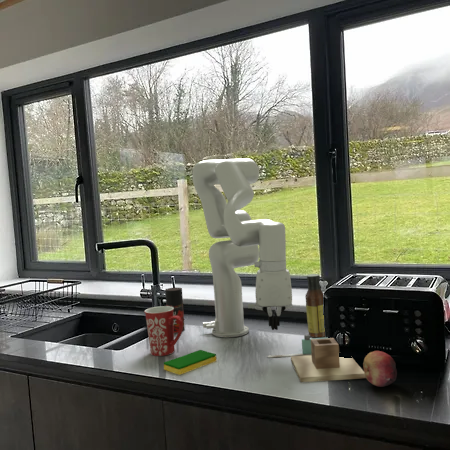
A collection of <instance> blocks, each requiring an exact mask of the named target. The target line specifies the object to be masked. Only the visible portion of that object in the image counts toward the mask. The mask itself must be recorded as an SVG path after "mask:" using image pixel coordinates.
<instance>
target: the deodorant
mask: <svg viewBox="0 0 450 450" xmlns="http://www.w3.org/2000/svg"><path fill="white" fill-rule="evenodd" d="M183 300H184V299H183V287H169V288H165V303H166V305H165V306H170V307H173V308H174V310H173V316H179V317H181V319H182V321H183V330H182V333H183V332H185V318H184V317H185V315H184V314H185V313H184V301H183ZM178 331H179V323H178V321H177V320H176V319H174V334H178Z"/></svg>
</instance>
